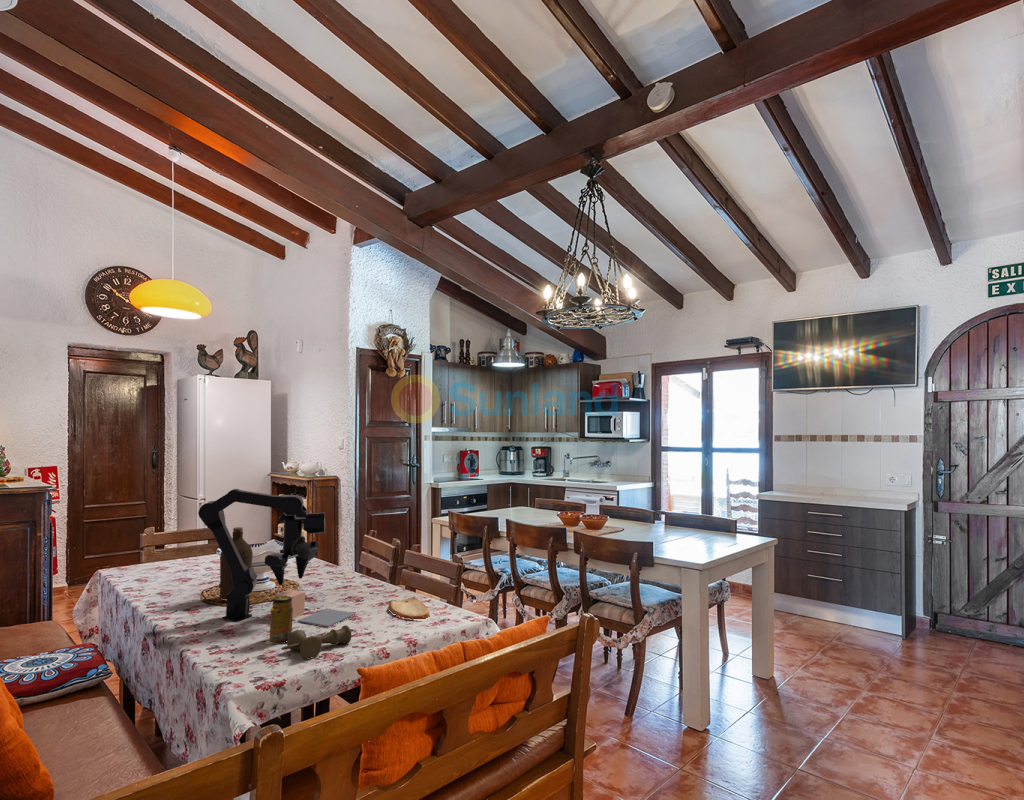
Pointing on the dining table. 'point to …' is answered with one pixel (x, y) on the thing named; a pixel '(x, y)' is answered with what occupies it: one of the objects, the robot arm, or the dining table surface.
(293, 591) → the salmon cube
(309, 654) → the kendama
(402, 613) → the slice of bread
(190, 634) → the dining table surface
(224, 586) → the olive oil
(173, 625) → the dining table surface
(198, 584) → the dining table surface
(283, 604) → the condiment
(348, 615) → the grey panel
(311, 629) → the dining table surface
